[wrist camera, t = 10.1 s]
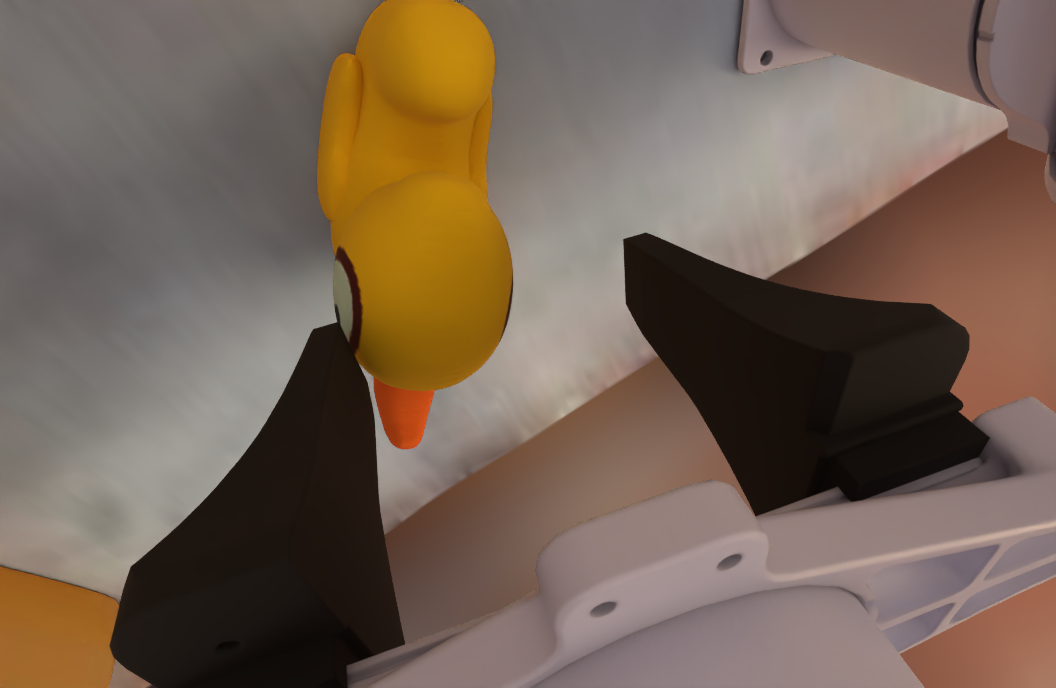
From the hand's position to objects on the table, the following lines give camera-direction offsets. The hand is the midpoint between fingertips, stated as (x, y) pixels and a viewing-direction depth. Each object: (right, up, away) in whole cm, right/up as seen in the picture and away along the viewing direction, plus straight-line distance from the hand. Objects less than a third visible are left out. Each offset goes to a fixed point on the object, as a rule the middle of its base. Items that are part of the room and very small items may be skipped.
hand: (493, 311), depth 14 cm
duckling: (-4, +6, +6) cm, 10 cm away
